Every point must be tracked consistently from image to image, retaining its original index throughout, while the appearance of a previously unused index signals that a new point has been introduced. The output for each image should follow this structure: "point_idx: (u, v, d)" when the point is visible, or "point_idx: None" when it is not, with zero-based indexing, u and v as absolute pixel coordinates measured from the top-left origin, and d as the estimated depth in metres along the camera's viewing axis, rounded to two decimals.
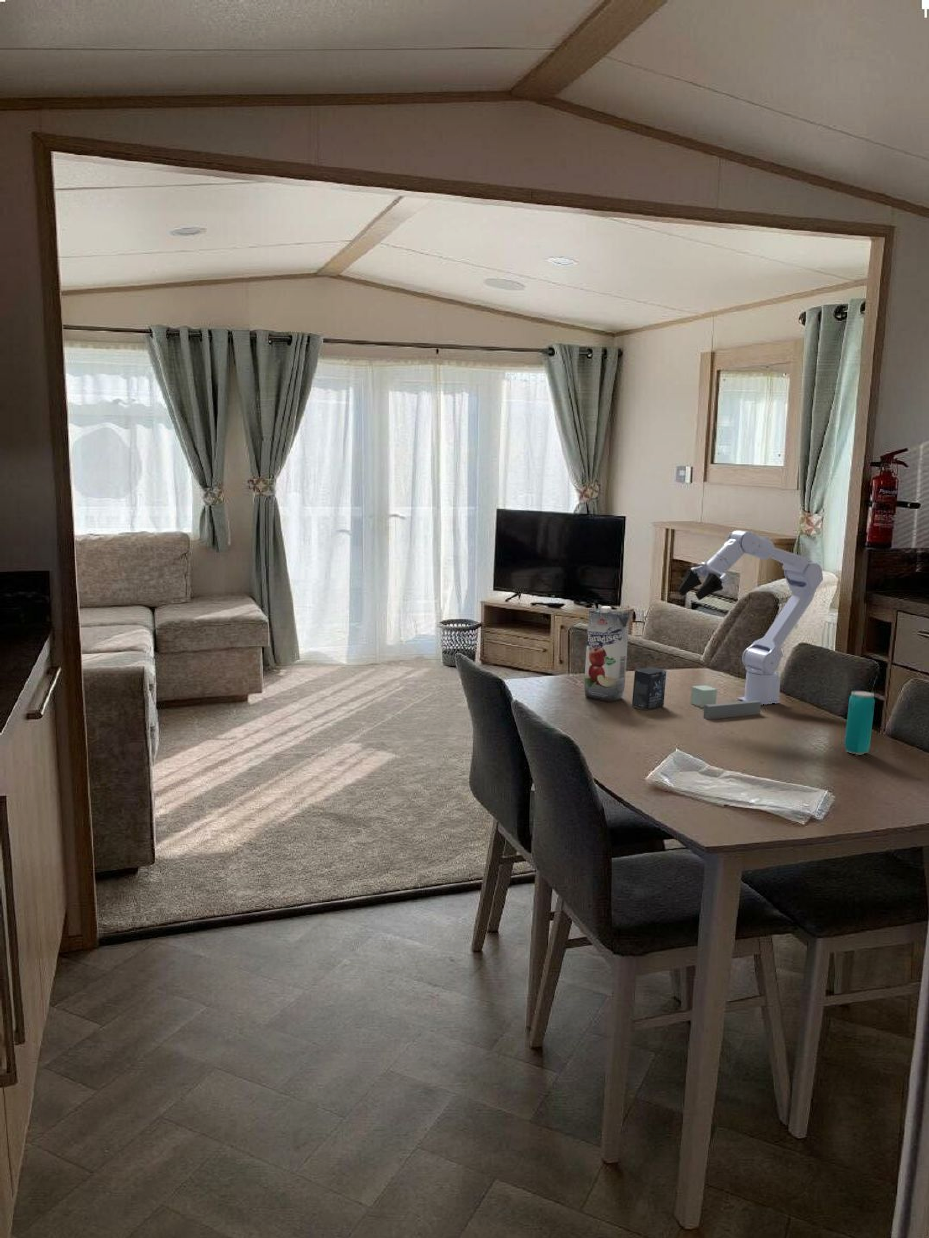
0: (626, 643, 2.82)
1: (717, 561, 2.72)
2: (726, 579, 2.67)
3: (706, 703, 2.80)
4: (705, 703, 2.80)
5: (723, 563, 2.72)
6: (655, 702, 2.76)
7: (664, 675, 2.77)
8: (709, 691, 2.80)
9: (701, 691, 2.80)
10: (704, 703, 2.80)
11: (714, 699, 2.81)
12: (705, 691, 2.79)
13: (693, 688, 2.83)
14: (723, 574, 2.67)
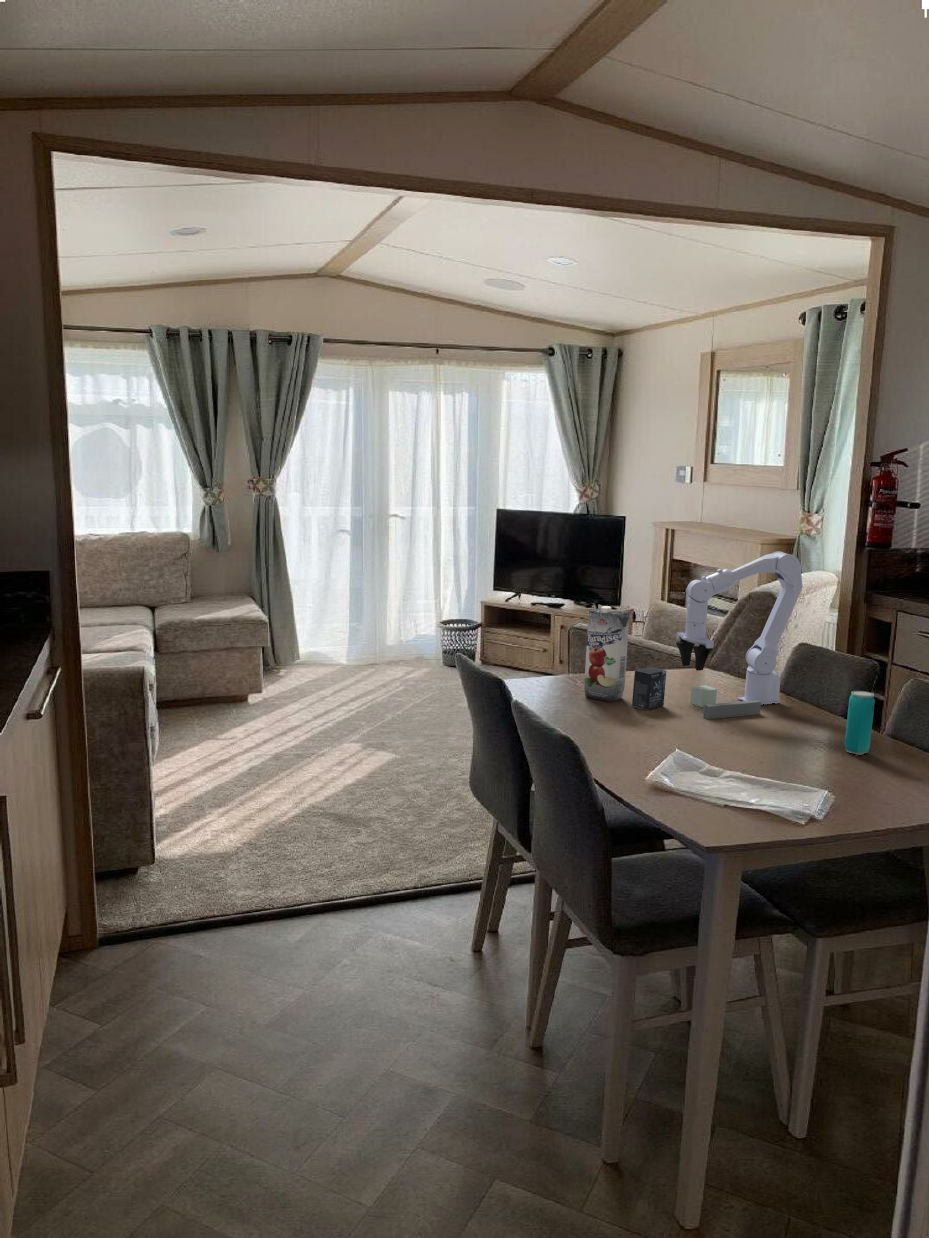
0: (626, 643, 2.82)
1: (692, 629, 2.82)
2: (711, 644, 2.79)
3: (706, 703, 2.80)
4: (705, 703, 2.80)
5: (699, 627, 2.82)
6: (655, 702, 2.76)
7: (664, 675, 2.77)
8: (709, 691, 2.80)
9: (701, 691, 2.80)
10: (704, 703, 2.80)
11: (714, 699, 2.81)
12: (705, 691, 2.79)
13: (693, 688, 2.83)
14: (706, 643, 2.79)
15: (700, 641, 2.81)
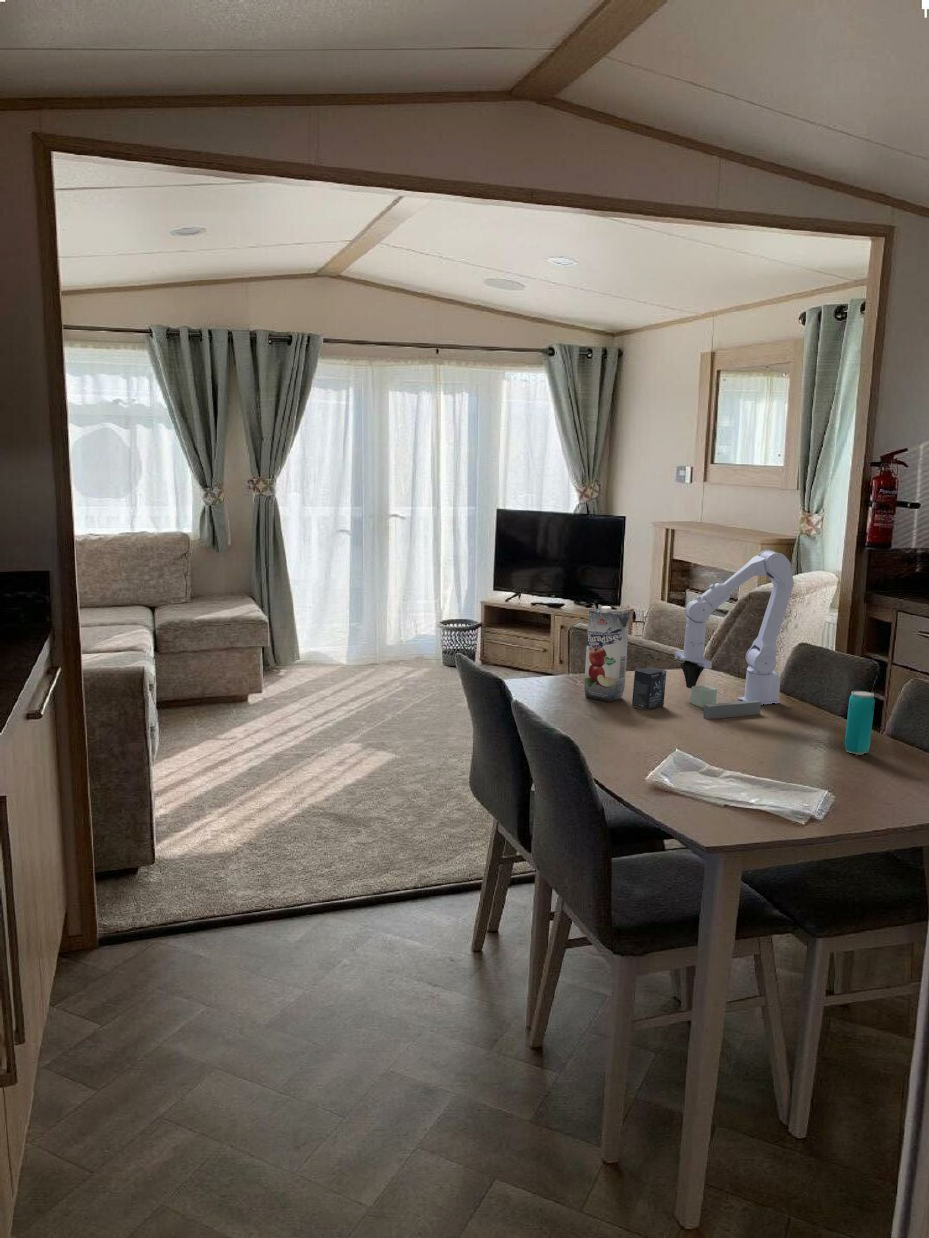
0: (626, 643, 2.82)
1: (691, 649, 2.83)
2: (710, 664, 2.80)
3: (706, 703, 2.80)
4: (705, 703, 2.80)
5: (697, 647, 2.83)
6: (655, 702, 2.76)
7: (664, 675, 2.77)
8: (709, 691, 2.80)
9: (701, 691, 2.80)
10: (704, 703, 2.80)
11: (714, 699, 2.81)
12: (705, 691, 2.79)
13: (693, 688, 2.83)
14: (704, 663, 2.80)
15: (698, 661, 2.82)
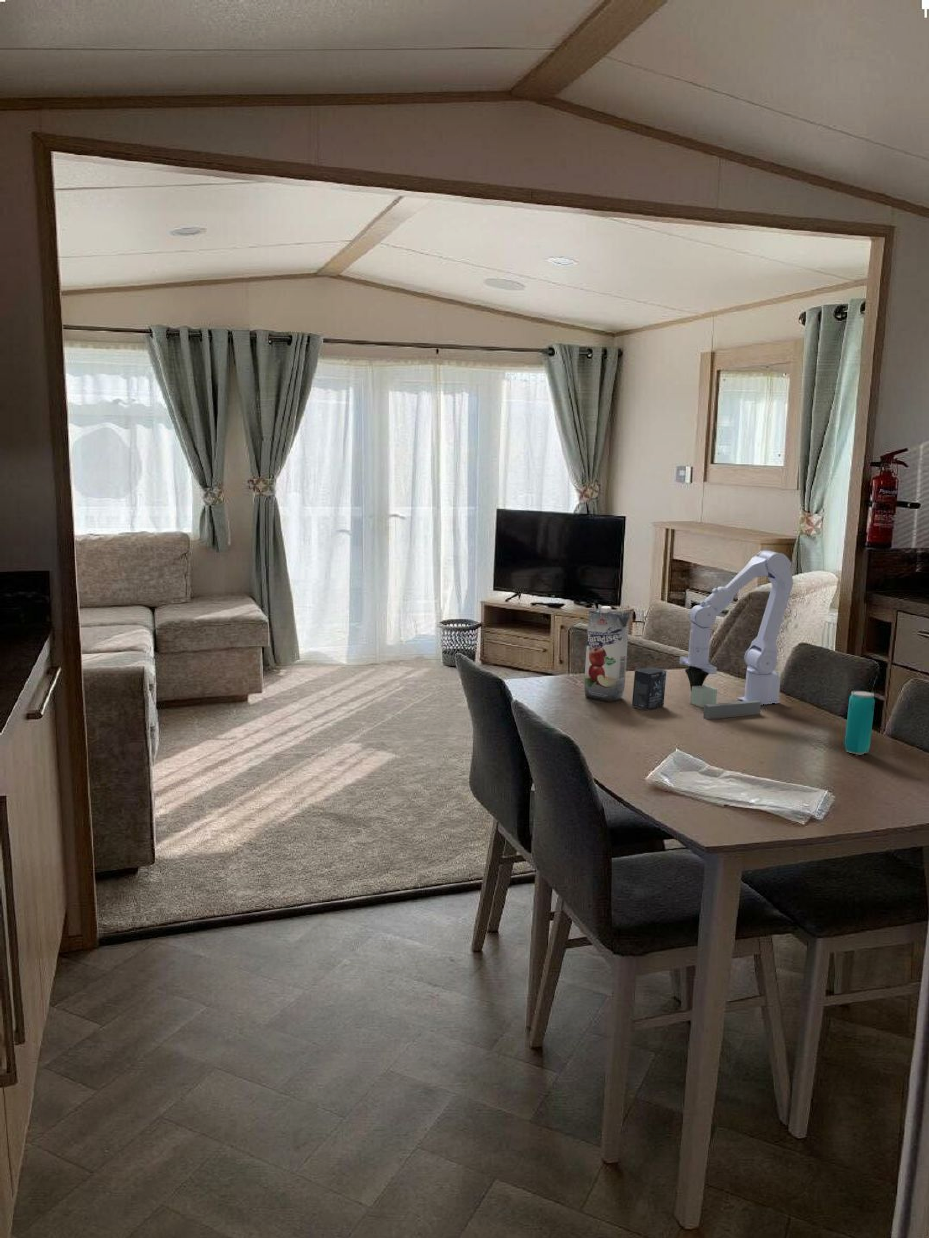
0: (626, 643, 2.82)
1: (695, 654, 2.82)
2: (714, 670, 2.78)
3: (706, 703, 2.80)
4: (705, 703, 2.80)
5: (702, 652, 2.81)
6: (655, 702, 2.76)
7: (664, 675, 2.77)
8: (709, 691, 2.80)
9: (701, 691, 2.80)
10: (704, 703, 2.80)
11: (714, 699, 2.81)
12: (705, 691, 2.79)
13: (693, 688, 2.83)
14: (709, 668, 2.78)
15: (703, 667, 2.80)
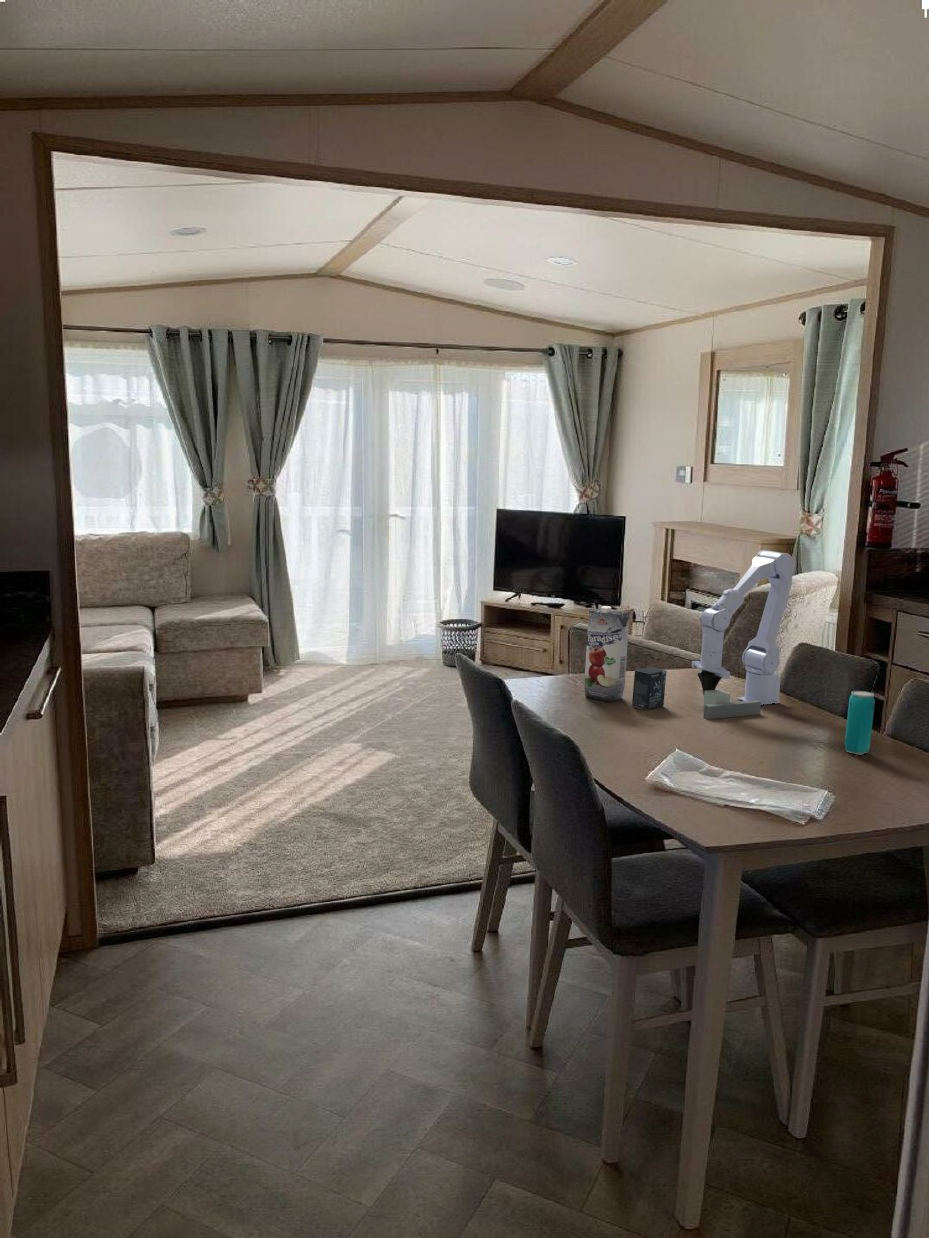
0: (626, 643, 2.82)
1: (708, 658, 2.77)
2: (728, 674, 2.73)
3: None
4: None
5: (715, 656, 2.76)
6: (655, 702, 2.76)
7: (664, 675, 2.77)
8: (722, 695, 2.75)
9: (714, 695, 2.74)
10: None
11: None
12: (718, 695, 2.74)
13: (706, 692, 2.78)
14: (722, 673, 2.73)
15: (716, 671, 2.75)
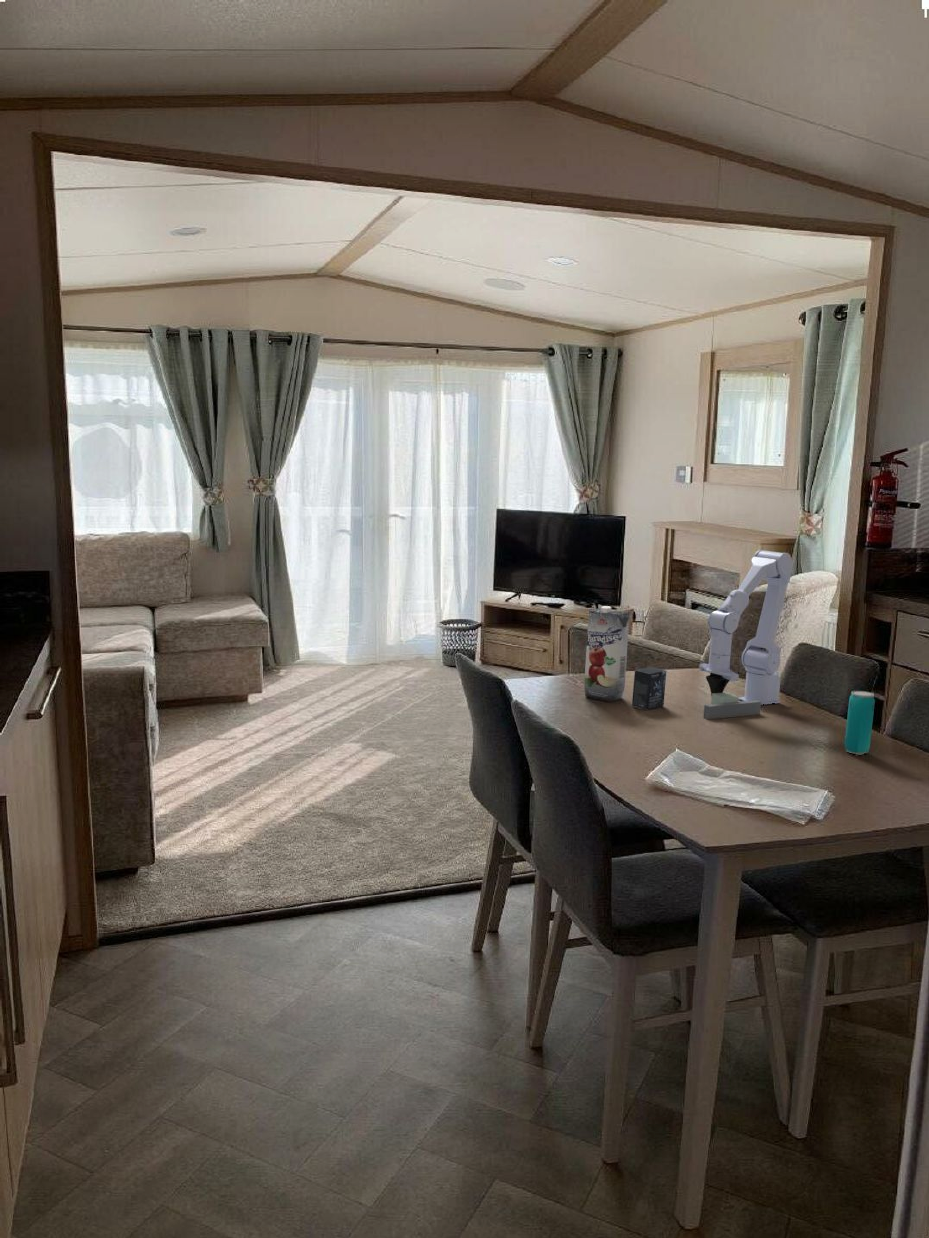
0: (626, 643, 2.82)
1: (716, 661, 2.73)
2: (736, 677, 2.70)
3: None
4: None
5: (723, 659, 2.73)
6: (655, 702, 2.76)
7: (664, 675, 2.77)
8: (730, 698, 2.72)
9: (722, 698, 2.72)
10: None
11: None
12: (726, 698, 2.71)
13: (713, 695, 2.75)
14: (731, 676, 2.70)
15: (724, 674, 2.72)
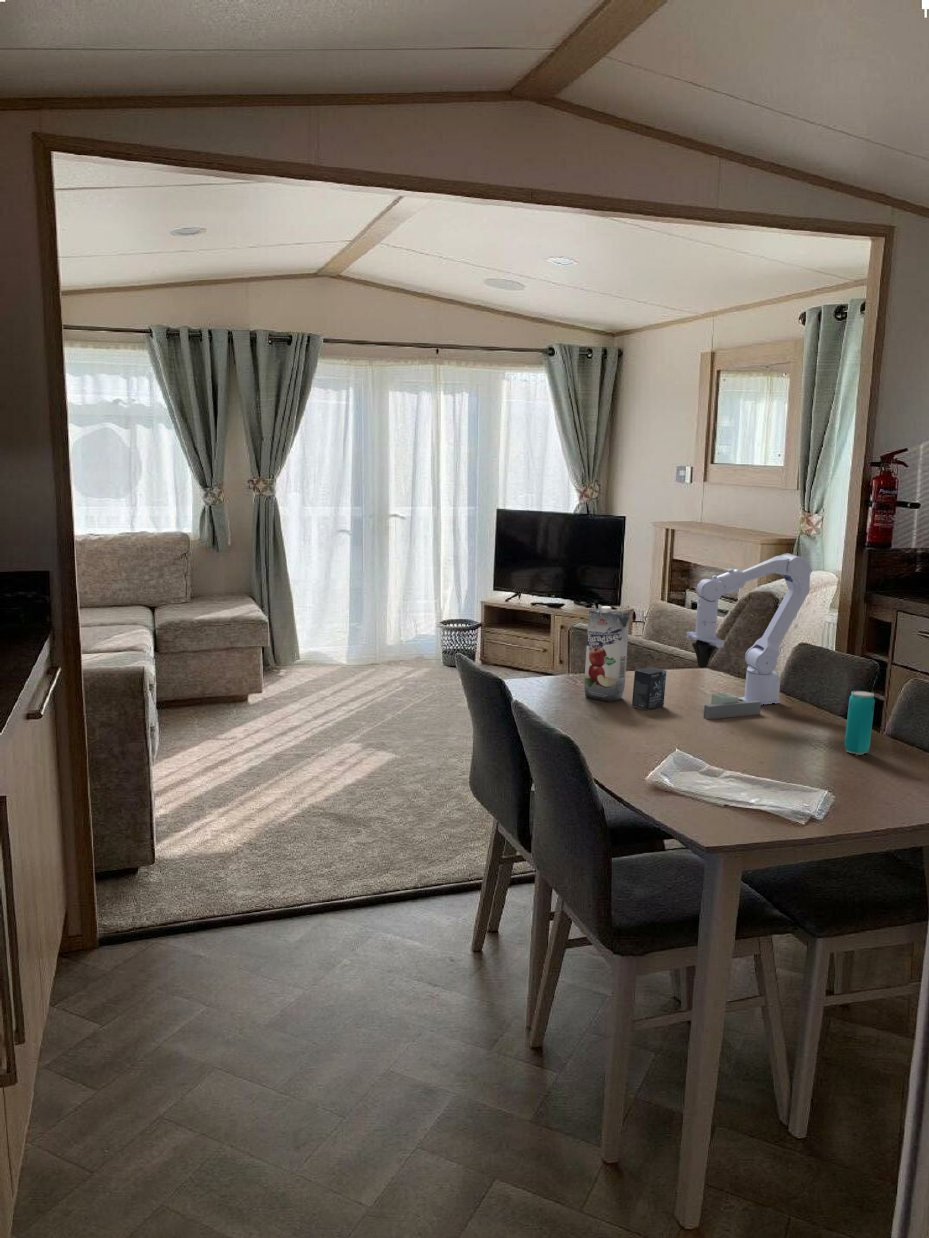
0: (626, 643, 2.82)
1: (703, 628, 2.81)
2: (722, 643, 2.78)
3: None
4: None
5: (709, 626, 2.81)
6: (655, 702, 2.76)
7: (664, 675, 2.77)
8: (730, 699, 2.72)
9: (722, 699, 2.72)
10: None
11: None
12: (726, 699, 2.71)
13: (713, 695, 2.75)
14: (716, 642, 2.78)
15: (710, 640, 2.80)
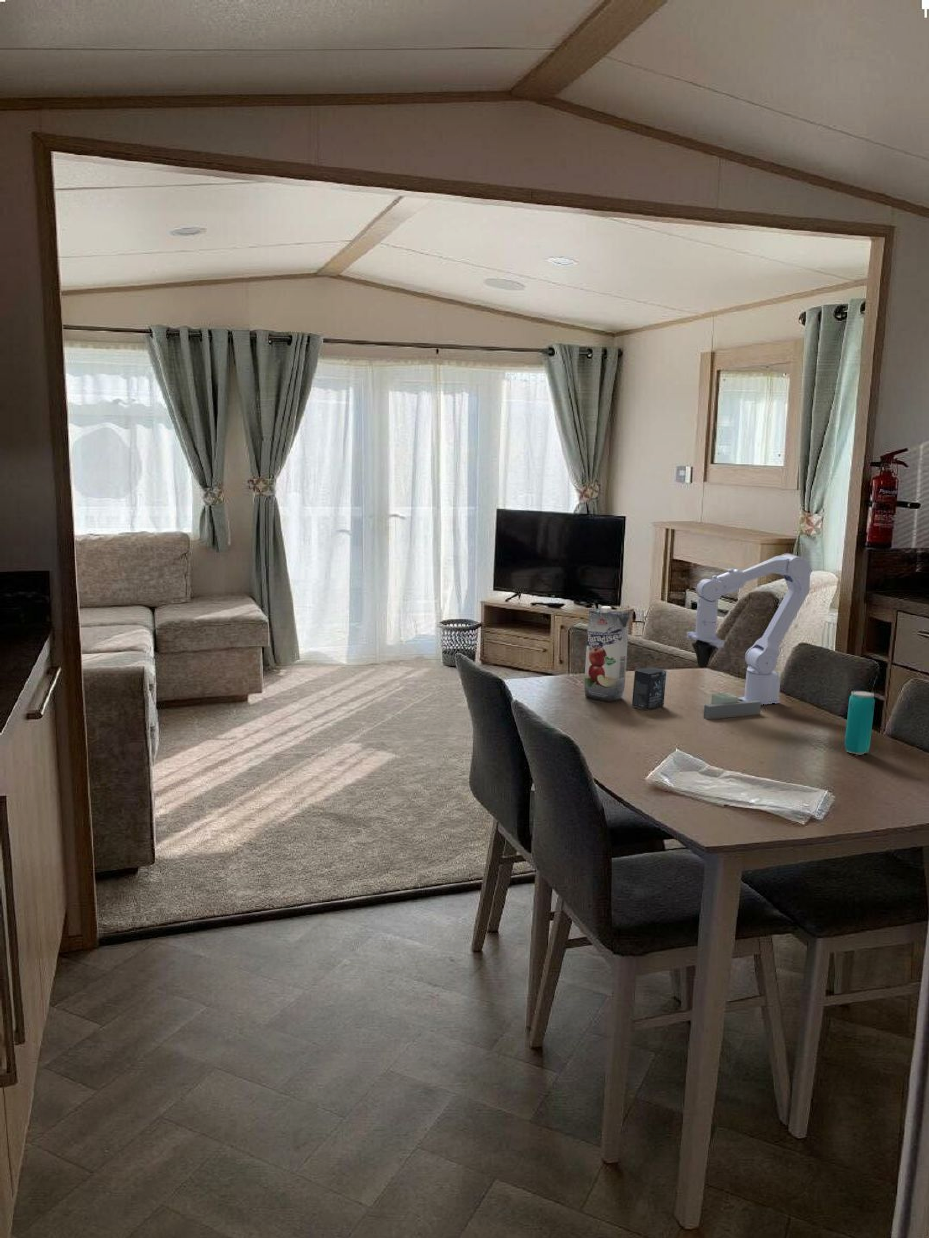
0: (626, 643, 2.82)
1: (703, 628, 2.81)
2: (722, 643, 2.78)
3: None
4: None
5: (709, 626, 2.81)
6: (655, 702, 2.76)
7: (664, 675, 2.77)
8: (730, 699, 2.72)
9: (722, 699, 2.72)
10: None
11: None
12: (726, 699, 2.71)
13: (713, 695, 2.75)
14: (716, 642, 2.78)
15: (710, 640, 2.80)
